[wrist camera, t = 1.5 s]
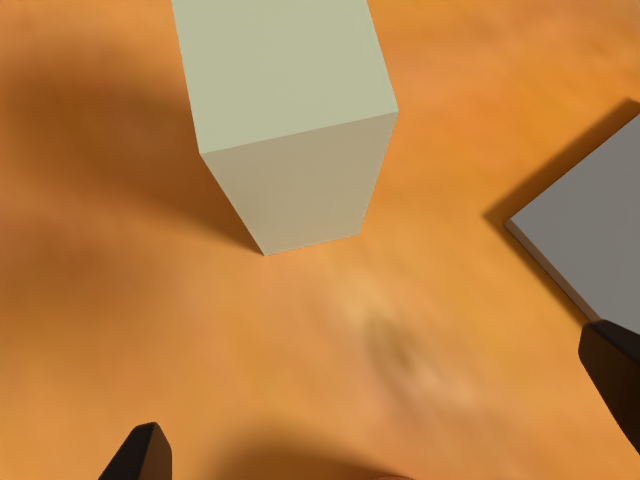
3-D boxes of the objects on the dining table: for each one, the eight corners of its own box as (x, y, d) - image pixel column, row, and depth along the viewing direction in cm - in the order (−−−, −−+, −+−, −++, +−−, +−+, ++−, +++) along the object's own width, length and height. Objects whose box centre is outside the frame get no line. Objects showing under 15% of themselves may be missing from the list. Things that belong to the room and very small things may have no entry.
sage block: (358, 235, 24) (398, 111, 11) (264, 256, 24) (199, 154, 11) (336, 148, 25) (350, -53, 13) (246, 167, 25) (168, -17, 12)
